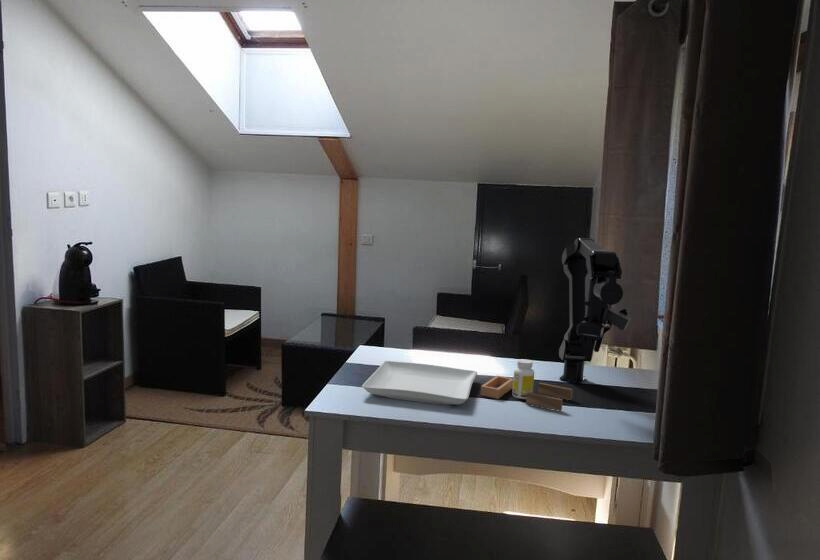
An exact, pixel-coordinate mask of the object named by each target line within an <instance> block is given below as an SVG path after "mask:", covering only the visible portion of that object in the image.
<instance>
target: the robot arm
mask: <svg viewBox="0 0 820 560" xmlns="http://www.w3.org/2000/svg"><path fill="white" fill-rule="evenodd" d="M561 264H562V265H563V272H564V274H565V276H566V277H567V279H568V281H569V283H568V286H569V287H568V289H569V290H568V291H569V292H568V294H569V298H568V299H569V301H568V302H569V303H568V304H569V328H568V329H567V331H566V332H565V334H564V336H563V340H562V343H561V345H560V347H559V349H558V356H559V358H560V360H562V361H564V365H563V374H562V375H561V376H560V377H559V380H560V379H563V380H562V381H565V380H569V381H568V382H570V381H575V382H582V381H583V377H585V376H584V372H585V371H584V370H585V363H586V362H589V363H591V362H592V360H593V355H594V352H595V353H599V351H600V349H601V346H602V343H603V340H604V338H605V334H606V333H607V332H608V331H610V330H611V329H612V328H613V326H615V327H617V329H619V330H621V331H625V330H626V329H627V327H628V325H629V323H630V322H631V320H632V317H631V316H630V314H629V311H630V310H628V309H626V308H621V309H620V310H618V309H614V308H613V305H616V304H618V303H620V302H621V300H622V299H623V296H624V292H623V291H624V290H623V287H622V286H621V285H620V284H619V283H618V282H617V280H621V278H622V274H623V270H622V266H621V261H620V259H619V256H618V254H617V253H616V251H613V250H607V249H603V248H602V247H601V246H600V245H599V244H597V242H595V239H593V238H585V237H578V238H575V240H574V242H573V243H571V244H569V245H568V246H566V247H565V248H564V250H563V252H562V255H561ZM586 276H588V278H589V280H588V288H587V289H588V291H587V297H586ZM575 382H574V383H575ZM583 382H584V381H583ZM583 382H582V383H583Z"/></svg>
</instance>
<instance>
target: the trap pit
mask: <svg viewBox="0 0 820 560" xmlns="http://www.w3.org/2000/svg"><path fill="white" fill-rule="evenodd" d="M511 390H513V378H512V377H506V376H503V375H502V376H501V375H496V376H494V377H492V378H491V379H489V380H488V381H487V382H485V383H484V384H482V385H480V396H483V397H487V398H492V399H497V400H499V399H500V398H501V397H503V396H504V395H506V394H507V393H508V392H509V391H511Z"/></svg>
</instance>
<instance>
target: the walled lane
mask: <svg viewBox="0 0 820 560" xmlns="http://www.w3.org/2000/svg"><path fill="white" fill-rule="evenodd" d="M573 390H574V389H573V388H570V387H566V386H565V387H563V386H558V385H554V384H548V383H544V382H539V383H538V386H537V393H534V392H533V393H530V392H528V393H527V399H525V405H526V404H528V405H527V406H531V405H533V406H532V407H536V406H538V407H537V408H540V407H543V408H542V409H545V408H549V409H548V410H550V409H554V410H559V411H561V410H562V409H563V401H564V400H563V399H567V400H566V401H568V400H571V399H572V400H573V392H574V391H573ZM540 394H541V395H540ZM545 395H546V396H545ZM550 396H553V397H550ZM555 397H558V398H555ZM560 398H563V399H560ZM572 400H571V401H572ZM554 410H553V411H554ZM559 411H558V412H559ZM562 411H563V410H562ZM562 411H561V412H562Z"/></svg>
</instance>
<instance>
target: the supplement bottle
mask: <svg viewBox="0 0 820 560" xmlns="http://www.w3.org/2000/svg"><path fill="white" fill-rule="evenodd" d="M533 364H534V363H533V361H532V360H530V359H527V358H526V359H523V358H521V359H520V358H519V359H517V363H516V366H517V367H515V368H514V370H513V378H512V379H513V388H512V389H511V390H512V392H511V393H512V397H514V398H516V399H520V400H526V399H527V393H528V392H530V393H534V381H535V370H534V369H533Z"/></svg>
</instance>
